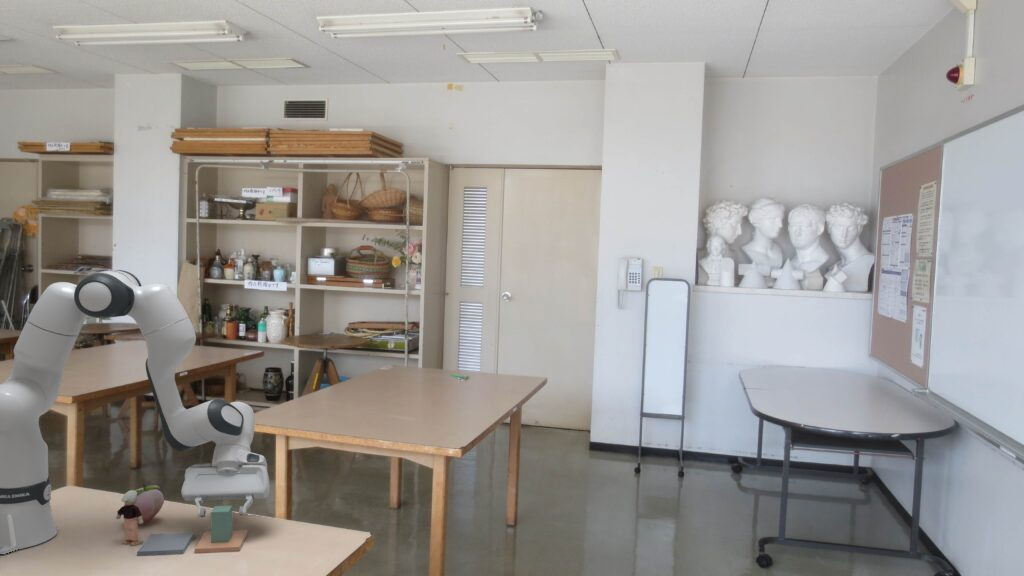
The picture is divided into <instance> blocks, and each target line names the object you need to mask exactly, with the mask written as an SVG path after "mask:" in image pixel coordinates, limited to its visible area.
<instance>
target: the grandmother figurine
mask: <svg viewBox="0 0 1024 576" xmlns="http://www.w3.org/2000/svg"><path fill="white" fill-rule="evenodd" d="M136 501H137V492H136V491H135V490H134V489H131V490H128V491H127V492H125V493H124V495H123V496H122V499H121V502H122V503H126V504H127V505H125V506H124V505H123V506H122V507H120V508H119V509H118V510H117V513H116V516H115V519H116V520H120V519H121V518H122V516H123V538H124V539H123V541H122V544H123V545H129V544H130V546H137V545H140V544H143V543H144V541H143V539H142V538H139V529H138V528H139V527H138V526H139V525H143V524H144V523H143V520H142V519H143V518H142V514H141V512H140V510H139V508H138V507H137V506H135V505H134V504H135V503H136ZM137 519H138V521H139V522H138V521H137ZM138 524H139V525H138Z"/></svg>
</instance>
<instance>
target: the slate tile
mask: <svg viewBox="0 0 1024 576" xmlns="http://www.w3.org/2000/svg"><path fill="white" fill-rule="evenodd" d="M195 533H196V532H195V531H190V532H187V531H184V532H167V533H166V532H164V533H160V532H159V533H151V534H150V535H149V536H148V537H147V538H146V539H145V541H143V543H142V545H141V546H140V547H139V548H138V550H137V551H136V556H137V557H139V556H140V557H141V556H142V557H145V556H159V555H160V556H162V555H164V556H165V555H182V554H183V555H184V553H185V552H186V550H187V549H188V547H189V545H190V544H191V543H192V541H193V539H194V537H195V536H196V534H195Z"/></svg>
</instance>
